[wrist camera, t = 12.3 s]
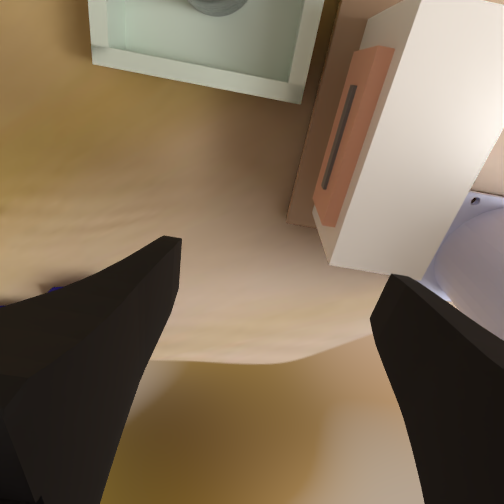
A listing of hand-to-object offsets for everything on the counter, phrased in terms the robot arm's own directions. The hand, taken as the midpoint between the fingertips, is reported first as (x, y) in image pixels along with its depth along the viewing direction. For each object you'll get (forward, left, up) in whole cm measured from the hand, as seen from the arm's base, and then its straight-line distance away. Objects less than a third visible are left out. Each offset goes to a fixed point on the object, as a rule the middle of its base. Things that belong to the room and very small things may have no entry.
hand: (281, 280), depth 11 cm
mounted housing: (-4, -4, -10) cm, 12 cm away
